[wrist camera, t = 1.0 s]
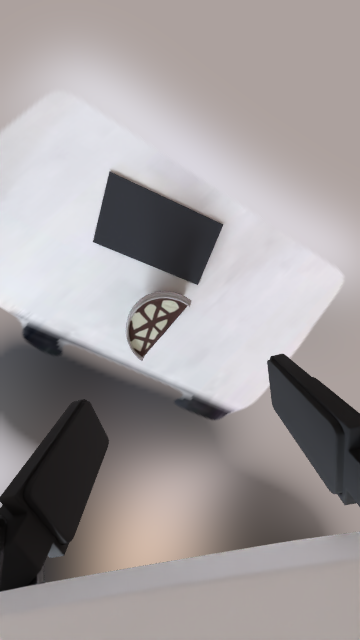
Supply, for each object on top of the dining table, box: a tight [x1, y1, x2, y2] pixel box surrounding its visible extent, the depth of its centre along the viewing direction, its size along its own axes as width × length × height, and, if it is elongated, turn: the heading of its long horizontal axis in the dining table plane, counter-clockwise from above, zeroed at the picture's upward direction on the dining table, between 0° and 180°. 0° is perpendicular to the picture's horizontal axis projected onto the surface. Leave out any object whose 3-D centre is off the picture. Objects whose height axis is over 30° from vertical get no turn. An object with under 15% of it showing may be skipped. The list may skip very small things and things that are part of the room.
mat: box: [93, 172, 223, 285], centre depth 31 cm, size 20×11×1 cm, turn 68°
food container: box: [126, 291, 191, 361], centre depth 30 cm, size 12×6×10 cm, turn 140°
